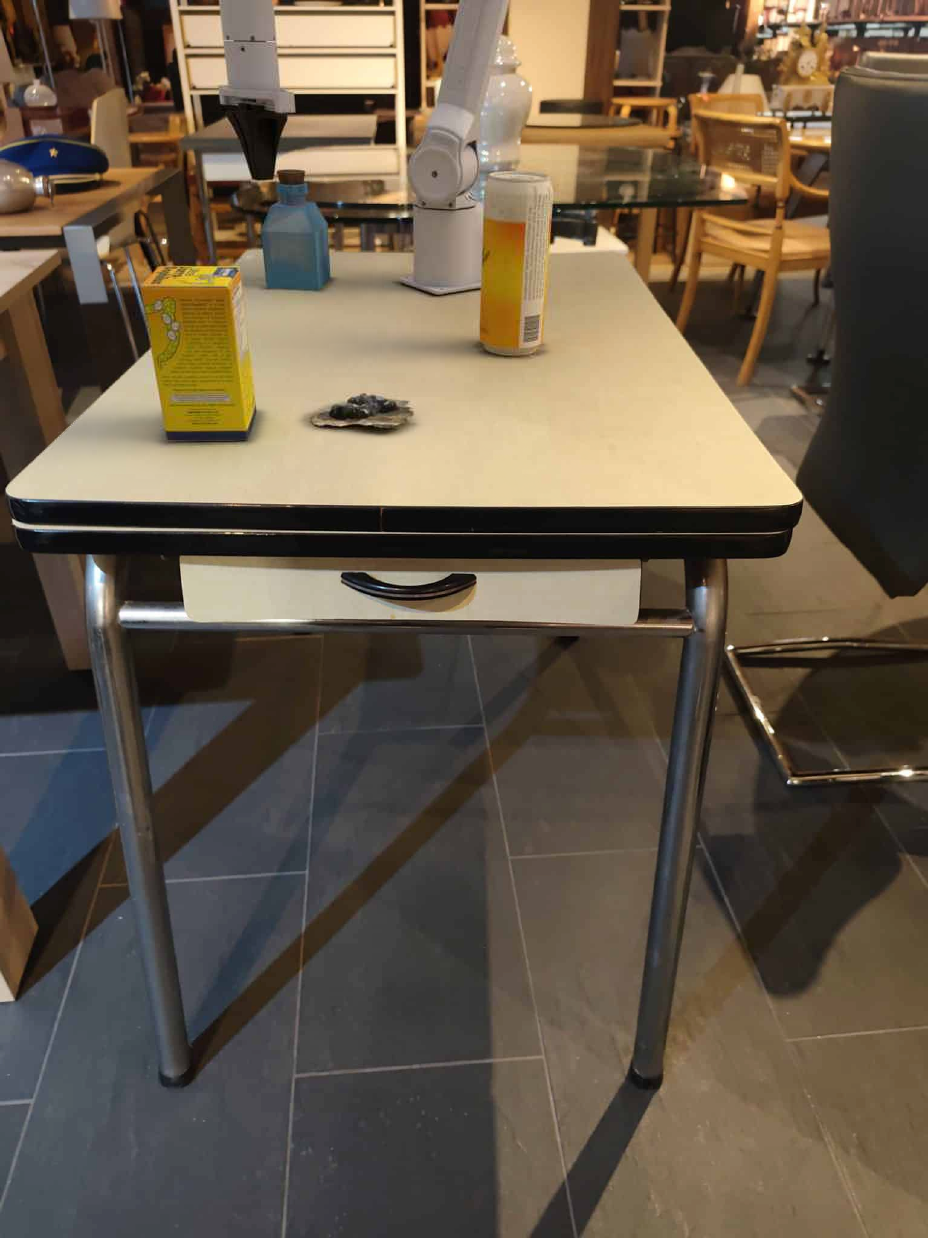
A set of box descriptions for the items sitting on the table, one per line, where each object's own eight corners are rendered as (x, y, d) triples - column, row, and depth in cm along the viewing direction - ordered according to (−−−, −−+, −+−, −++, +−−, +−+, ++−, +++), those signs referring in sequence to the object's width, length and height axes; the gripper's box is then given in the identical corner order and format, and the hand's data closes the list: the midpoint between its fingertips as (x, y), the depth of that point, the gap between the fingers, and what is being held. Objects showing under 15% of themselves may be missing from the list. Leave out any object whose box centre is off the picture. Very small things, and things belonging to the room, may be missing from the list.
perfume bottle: (330, 278, 108) (324, 168, 101) (318, 290, 102) (311, 175, 96) (280, 276, 108) (271, 166, 101) (266, 288, 103) (255, 173, 96)
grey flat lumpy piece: (419, 433, 66) (419, 408, 65) (311, 438, 65) (309, 413, 64) (407, 402, 72) (407, 379, 71) (307, 406, 71) (306, 383, 70)
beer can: (508, 335, 89) (517, 168, 81) (555, 348, 85) (568, 176, 77) (465, 346, 85) (470, 173, 77) (512, 361, 82) (521, 181, 73)
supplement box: (179, 413, 69) (156, 264, 63) (257, 412, 69) (241, 264, 63) (164, 442, 64) (137, 284, 58) (249, 441, 64) (230, 284, 58)
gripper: (187, 39, 99) (204, 173, 107) (246, 41, 90) (260, 189, 97) (245, 40, 103) (257, 170, 110) (307, 43, 93) (316, 185, 101)
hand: (262, 179), depth 104 cm, fingers closed
